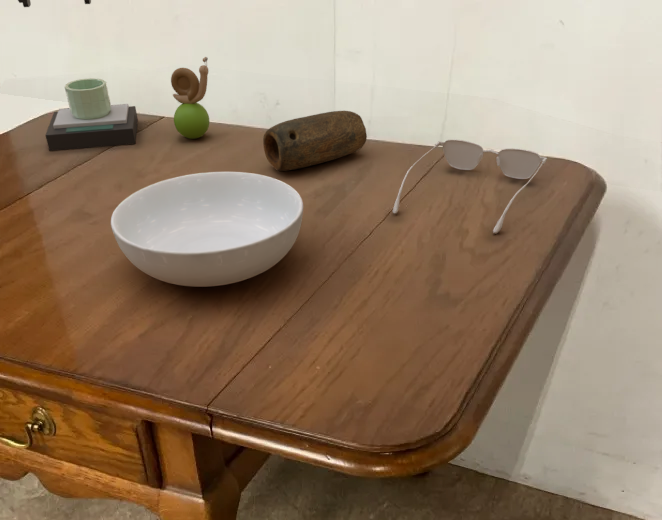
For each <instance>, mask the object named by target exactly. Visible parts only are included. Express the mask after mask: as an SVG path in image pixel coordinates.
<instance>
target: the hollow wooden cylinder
mask: <svg viewBox="0 0 662 520" xmlns="http://www.w3.org/2000/svg"><path fill="white" fill-rule="evenodd" d="M367 136H368V135H367V128H366V126H365V124H364V120H363V118H362V116H361V115H360V114H358V113H356V112H354V111H350V110H335V111H334V110H333V111H327V112H322V113H321V112H320V113H316V114H312V115H307V116H301V117H296V118H293V119H292V118H291V119H288V120H285V121H282V122H280V123H277V124H275V125H273V126H271V127H270V128H268V129H267V130H266V131H265V133H264V134H263V137H262V138H263V139H262V140H263V141H262V143H263V144H262V145H263V146H262V147H263V151H264V154H265V157H266V159H267V161H268V163H269V164H270V165H271V166H273V168H274V169H275V170H277V171H279V172H285V171H293V170H300V169H304V168H309V167H311V166H314V165H320V164H323V163H327V162H330V161H333V160H337V159H340V158H342V157H345V156H348V155H350V154H352V153H353V154H354V153H355V152H357V151H359V150H360V149H362V147H364V146H365V144H366V142H367V138H368V137H367Z"/></svg>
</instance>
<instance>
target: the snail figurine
mask: <svg viewBox="0 0 662 520" xmlns="http://www.w3.org/2000/svg"><path fill="white" fill-rule="evenodd" d="M202 62H203V63H205V64H202V65H200V66H199V68H198V72H199V77H198V76H197V74H196V73H195V72H194V71H193V70H191V69H190V68H187V67H179V68H176V69H175V70H174V71H173V72H172V73H171V76H170V84H171V87H172V89H173V91H174V92H175V93H173V94H172V97H173V98H174V99H175V101H177V102H178V103H179V104H180V105H179V106H178V107H176V109H175V111H174V114H173V124H174V127H175V129H176V131H177V132H178V133H179V134H180V135H181V136H183V137H184V138H187V139H189V140H197V139H199V138H202V137H203V136H204V135H205V134H206V133H207V132H208V129H209V127H210V116H209V115H210V114H209V113H208V111H207V109H206V108H205V107H204V106H203V105H202V104H201V103H199V102H201V101H202V100H203V99H204V97H205V95H206V92H207V88H208V74H209V67H208V56H204V57H203V58H202Z"/></svg>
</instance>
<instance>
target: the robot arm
mask: <svg viewBox="0 0 662 520" xmlns="http://www.w3.org/2000/svg"><path fill="white" fill-rule="evenodd" d="M83 1H84V4H85V5H91V4H92V0H83ZM17 2H18V3H19V4H22V6H23V8H30V7H31V3H32V2H31V0H17Z"/></svg>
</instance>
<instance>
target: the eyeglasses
mask: <svg viewBox="0 0 662 520" xmlns="http://www.w3.org/2000/svg"><path fill="white" fill-rule="evenodd" d="M439 147H442V151H443V154H444V158H445V160H446V162H447V164H448V165H449V166H450V167H452V168H454V169H457V170H461V171H473V170H475V169H476V168H477V166H478V165H479V164H480V163H481V161H482V160H483V158H484V154H485V153H491V154H494V155H497V156H496V157H495V161H496V166H497V167H499V168H500V170H501V172H502V174H503V175H504V176H506V177H507V178H511V179H517V180H527V179H529V180H528V181H527V182H526V183H525V184H524V185H523V186H522V187H520V188H519V190H517V191H516V192H515V194H514V195H513V196H512V198H511V199H510V200H509V202H508V204H507V205H506V206H505V209H503V212H502V214H501V216H500V218H499V219H498V220H497V222H496V224H495V226H494V227H493V230H492V233H493V234H498V233H499V232H500V231H501V230H502V229H503V225H504V221H505V217H506V215H507V213H508V212H509V209H510V207H511V205H512V203H513V202H514V200H515V199H516V197H517V196H518V195H519V194H520V192H521V191H523V190H524V189H525V188H526V187H527V185H528V184H529V183H530V182H531V181H532V180H533V178H534V177H535V176H536V174H537V173H538V172H539V170H540V169H541V167H542V166H544V165H545V163H546V162H547V161H548V158H547V157H544V156H541V155H540V154H539V153H538V152H535V151H532V150H527V149H522V148H502V149H501V150H499V152H498V151H496V150H494V149H492V148H490V149H484V148H483V147H482V145H480V144H479V143H475V142H472V141H469V140H462V139H446V140H445V141H437V142H436V143H435V144H434V147H432V148H431V149H430V150H428V151H427V152H425V154H423V155H422V156H421V157H419V158H418V160H416V161H415V162H414V163H413V164H412V165H411V166H410V167H409V169H407V172H406V173H405V175H404V177H403V180H402V182H401V185H400V187H399V189H398V193H397V195H396V199H395V201H394V204H393V208H392V214H393V215H397V214H398V212H399V209H400V199H401V196H402V192H403V188H404V185H405V182H406V181H407V177H408V175H409V173H410V171H411V170H412V169H413V168H414V166H415V165H416V164H417V163H419V162H420V161H421V160H422V158H424V157H425V156H426V155H427V154H429V153H430V152H431V151H432V150H434V149H438V148H439Z"/></svg>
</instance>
